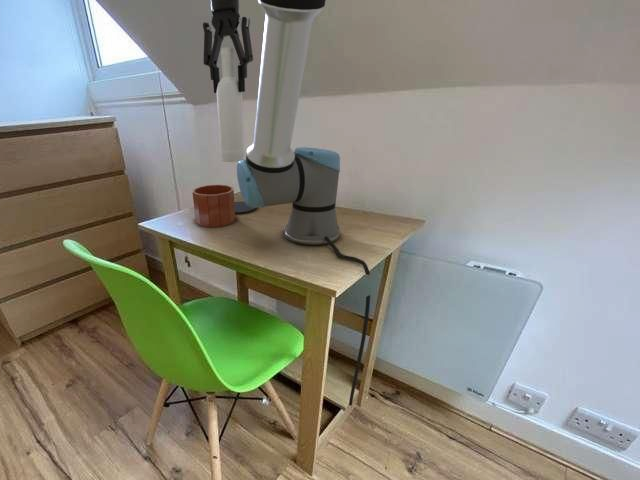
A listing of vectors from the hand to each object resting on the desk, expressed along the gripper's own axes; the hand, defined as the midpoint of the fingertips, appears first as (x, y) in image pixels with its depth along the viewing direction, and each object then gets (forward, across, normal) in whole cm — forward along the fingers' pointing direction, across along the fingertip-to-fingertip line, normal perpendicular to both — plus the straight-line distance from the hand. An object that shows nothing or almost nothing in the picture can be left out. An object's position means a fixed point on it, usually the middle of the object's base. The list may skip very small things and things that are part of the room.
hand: (229, 92), depth 103 cm
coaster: (+36, 0, -2) cm, 36 cm away
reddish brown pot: (+36, +1, +12) cm, 38 cm away
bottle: (+19, 0, 0) cm, 19 cm away
